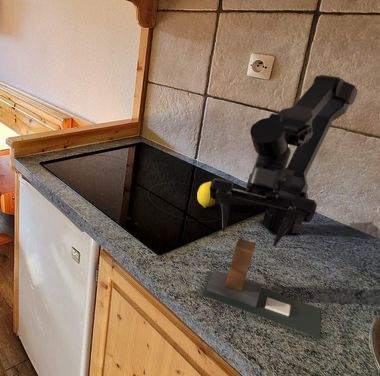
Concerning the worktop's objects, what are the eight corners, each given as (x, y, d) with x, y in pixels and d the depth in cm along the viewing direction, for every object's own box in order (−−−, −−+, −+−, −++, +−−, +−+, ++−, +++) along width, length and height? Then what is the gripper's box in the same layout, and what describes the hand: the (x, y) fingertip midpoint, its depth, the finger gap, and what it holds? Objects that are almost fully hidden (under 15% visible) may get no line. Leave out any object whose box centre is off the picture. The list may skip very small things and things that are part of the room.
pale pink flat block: (290, 307, 77) (290, 305, 76) (288, 316, 74) (289, 314, 74) (266, 299, 78) (267, 297, 78) (264, 308, 76) (265, 305, 76)
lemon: (205, 213, 111) (211, 187, 107) (190, 205, 115) (195, 179, 112) (219, 209, 113) (226, 183, 110) (204, 201, 118) (210, 176, 114)
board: (320, 310, 77) (321, 308, 76) (319, 341, 70) (320, 338, 70) (210, 273, 86) (211, 271, 86) (200, 297, 79) (201, 294, 79)
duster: (259, 293, 80) (274, 246, 75) (255, 307, 76) (271, 259, 72) (212, 277, 84) (223, 231, 80) (206, 290, 80) (217, 243, 76)
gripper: (221, 140, 81) (197, 210, 77) (332, 160, 72) (310, 241, 68) (221, 165, 90) (199, 228, 86) (319, 186, 81) (299, 258, 77)
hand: (247, 238), depth 79 cm, fingers open, 9 cm apart
